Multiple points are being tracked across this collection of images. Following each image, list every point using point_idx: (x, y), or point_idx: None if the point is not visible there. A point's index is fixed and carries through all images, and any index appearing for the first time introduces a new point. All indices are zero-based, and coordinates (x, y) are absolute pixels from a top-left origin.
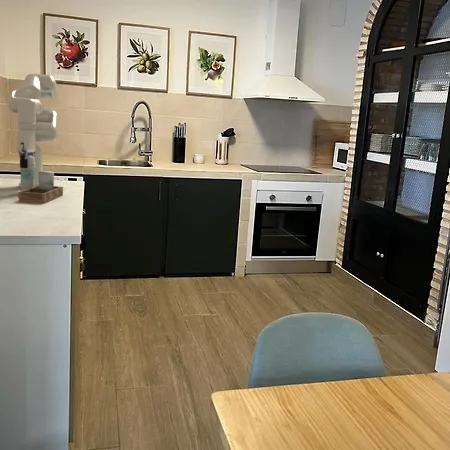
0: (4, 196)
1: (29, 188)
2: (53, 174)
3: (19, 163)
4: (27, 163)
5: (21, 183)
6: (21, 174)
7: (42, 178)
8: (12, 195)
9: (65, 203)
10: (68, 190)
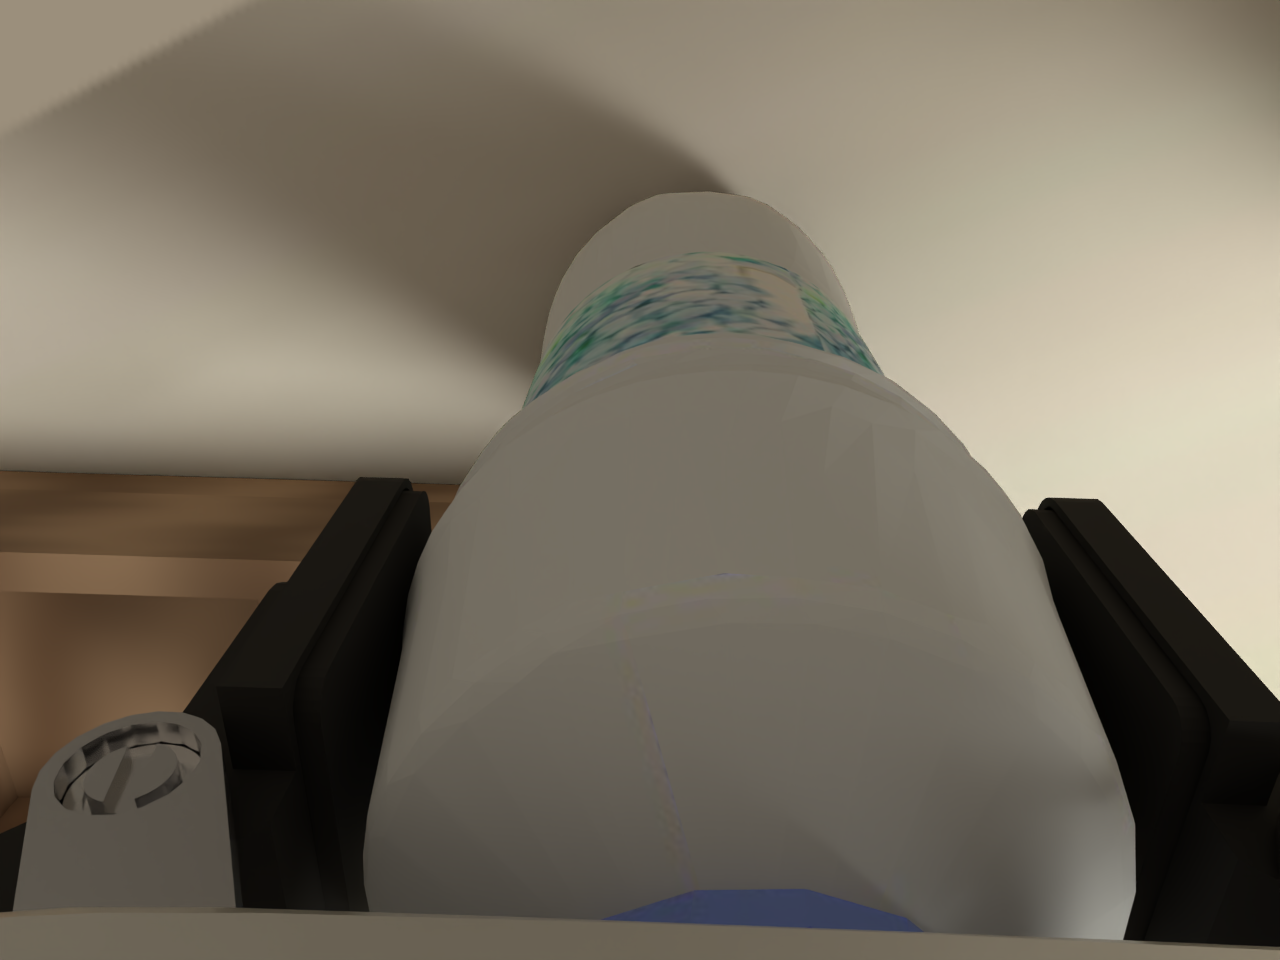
0: (175, 40)
1: (258, 568)
2: None
3: (542, 423)
4: None
5: (571, 289)
6: (548, 364)
7: None
8: (361, 137)
9: None
10: None
